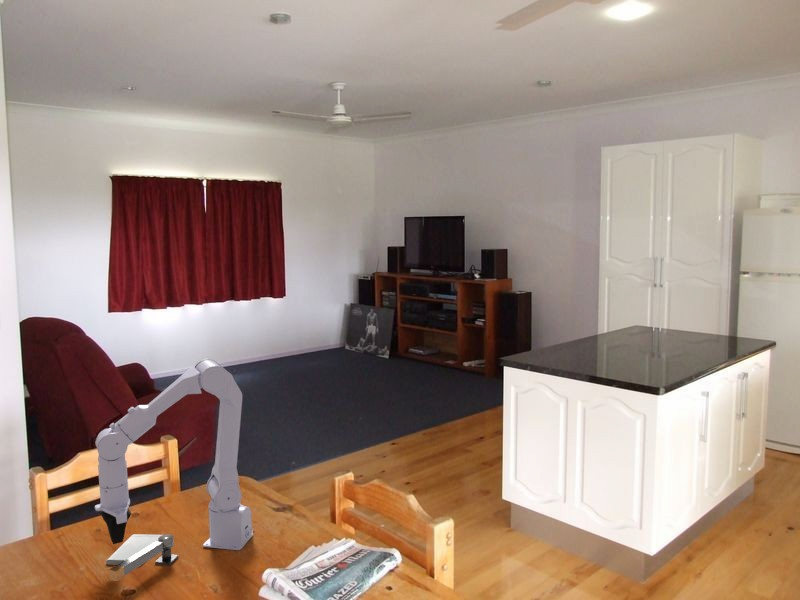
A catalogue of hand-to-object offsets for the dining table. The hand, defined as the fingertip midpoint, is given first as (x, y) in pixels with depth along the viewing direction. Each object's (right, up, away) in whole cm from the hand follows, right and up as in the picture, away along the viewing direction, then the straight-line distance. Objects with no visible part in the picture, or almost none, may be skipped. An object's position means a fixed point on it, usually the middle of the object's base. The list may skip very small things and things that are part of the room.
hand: (117, 541), depth 144 cm
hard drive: (+1, -6, +7) cm, 9 cm away
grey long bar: (+7, -3, -4) cm, 9 cm away
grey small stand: (+10, -5, +3) cm, 12 cm away
